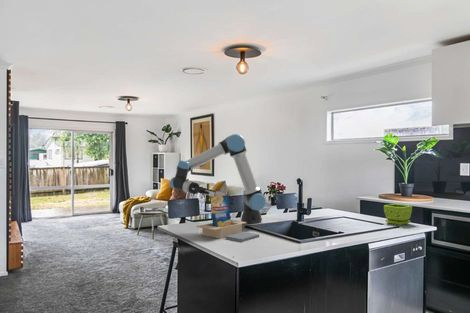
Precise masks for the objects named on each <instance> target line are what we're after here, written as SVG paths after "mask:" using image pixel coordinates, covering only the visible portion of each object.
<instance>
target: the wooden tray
mask: <svg viewBox="0 0 470 313" xmlns="http://www.w3.org/2000/svg"><path fill="white" fill-rule="evenodd" d="M230 220H231V225H230V226H226V227H221V228H220V227H214V226H213V222H211V223H207V224H206V223H205V224H201V225H197V226H196V228H199V229H200V228H201V230H202V236H205V235H206V237H210V236H211V237H212V238H215V237H216V238H215V239H220V240H221V239H226V236H228V235H232V234H236V233H240V232H243V225H244V224H245V225H246V224H248V223H247V222H242V221H241V220H236V219H235V220H234V219H230ZM211 237H210V238H211Z"/></svg>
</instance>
